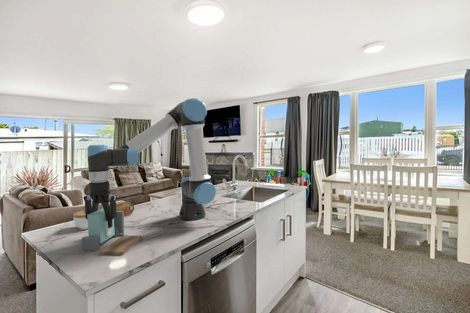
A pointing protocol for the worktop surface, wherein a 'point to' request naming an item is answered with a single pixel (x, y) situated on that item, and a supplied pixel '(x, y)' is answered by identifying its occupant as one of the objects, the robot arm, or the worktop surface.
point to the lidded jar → (80, 220)
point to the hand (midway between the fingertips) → (102, 234)
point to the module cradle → (93, 241)
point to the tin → (125, 208)
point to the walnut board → (121, 245)
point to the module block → (99, 225)
